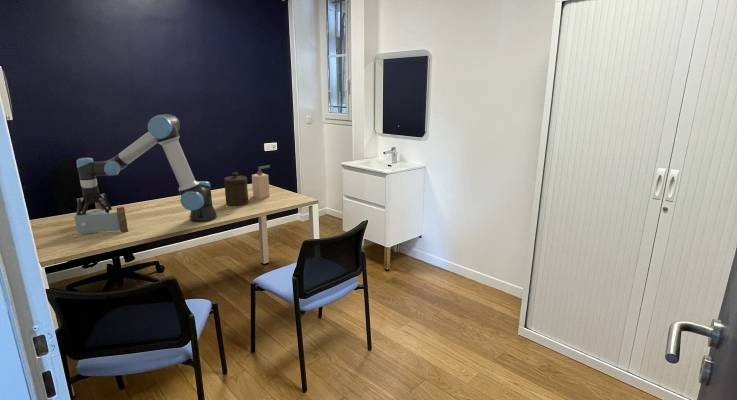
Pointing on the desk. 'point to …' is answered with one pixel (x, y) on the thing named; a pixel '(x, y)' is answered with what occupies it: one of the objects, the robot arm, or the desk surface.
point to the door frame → (120, 216)
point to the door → (97, 223)
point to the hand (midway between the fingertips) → (97, 225)
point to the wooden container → (236, 190)
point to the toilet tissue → (95, 211)
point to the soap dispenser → (260, 183)
